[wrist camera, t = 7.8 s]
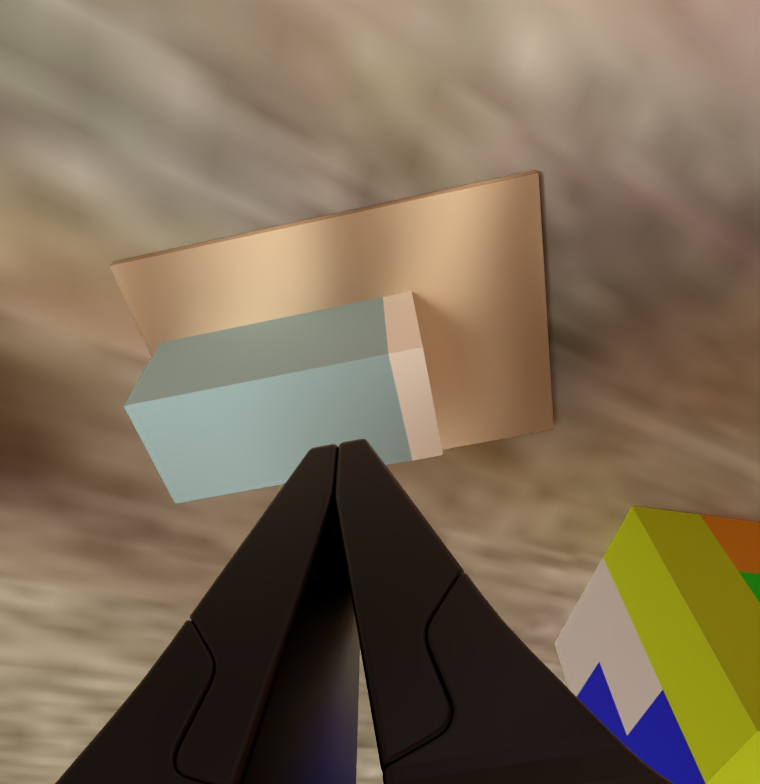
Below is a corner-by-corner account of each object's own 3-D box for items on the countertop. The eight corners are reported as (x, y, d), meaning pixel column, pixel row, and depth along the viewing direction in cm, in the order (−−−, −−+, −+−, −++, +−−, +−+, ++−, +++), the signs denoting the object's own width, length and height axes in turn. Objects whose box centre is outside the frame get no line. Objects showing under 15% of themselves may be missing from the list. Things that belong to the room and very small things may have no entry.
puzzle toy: (553, 641, 32) (624, 867, 24) (631, 504, 27) (757, 731, 19) (723, 658, 34) (846, 876, 25) (828, 530, 28) (1029, 752, 20)
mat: (535, 169, 19) (538, 172, 19) (551, 423, 24) (553, 429, 24) (113, 261, 20) (109, 265, 20) (217, 484, 25) (215, 491, 25)
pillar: (443, 454, 19) (175, 504, 20) (430, 388, 23) (200, 432, 23) (422, 346, 17) (123, 406, 18) (411, 291, 21) (159, 342, 21)
